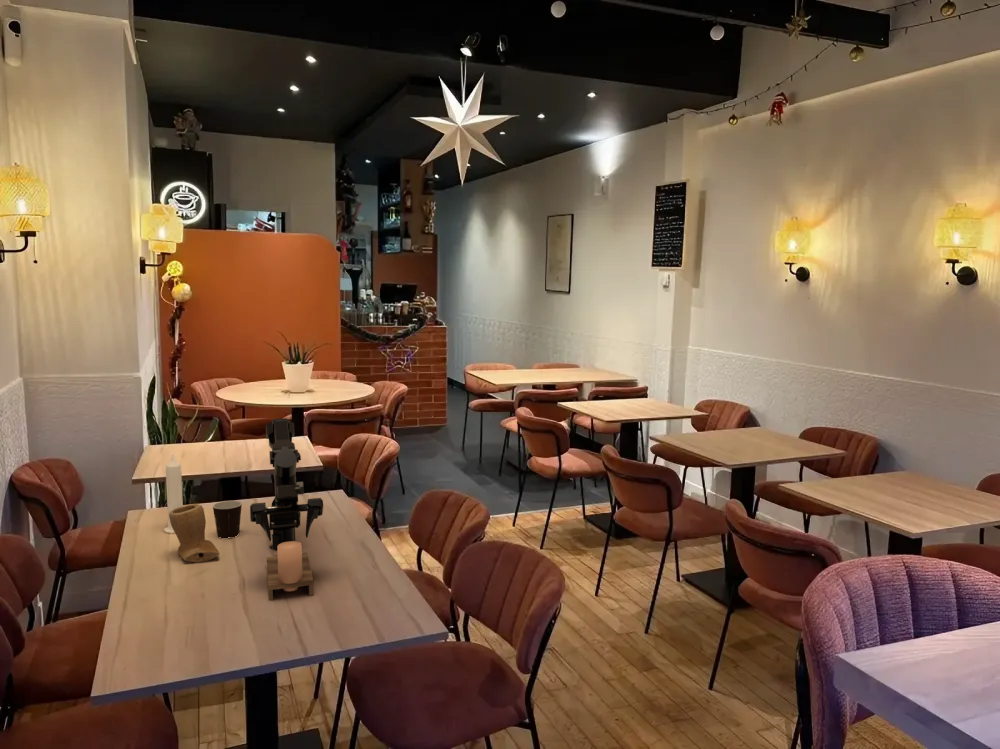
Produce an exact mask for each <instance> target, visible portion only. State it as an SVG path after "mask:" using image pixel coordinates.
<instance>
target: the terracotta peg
mask: <svg viewBox="0 0 1000 749" xmlns="http://www.w3.org/2000/svg"><path fill="white" fill-rule="evenodd" d="M276 550H277V556H278V581H279V582H280V583H284V584H290V583H296V582H299V581H300V580H302V553H303V547H302V543H301V542H300V541H296V540H295V541H289V542H283V543H281V544H279V545H278V546H277V549H276ZM298 588H299V587H290V588H282V589H283V591H284V592H294V591H297V590H298Z"/></svg>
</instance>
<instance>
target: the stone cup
mask: <svg viewBox="0 0 1000 749" xmlns="http://www.w3.org/2000/svg"><path fill="white" fill-rule="evenodd" d="M169 517H170V523H171V526H172V528H173V530H174V532H175V534H174V535H175V536H176V537H177V539H178V541H179V546H178V548H177V552H178V554H179V555H180V556H181V558H182V559H183V560H184V561H187V562H191V563H192V562H193V563H202V562H203V563H204V562H208V561H211V560H213V559H215V558H217V557H218V556H220V551H219V550H218V548H217V546H216V545H215V544H214V543H213V541H211V540H207V539H206V533H205V530H206V523H207V522H206V514H205V510H204V507H203V506H202V505H200V504H199V503H192V504H191V503H190V504H185V505H183V506H182V507H178V508H175V509H174V510H172V511H171V512H170V513H169Z"/></svg>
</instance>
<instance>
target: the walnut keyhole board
mask: <svg viewBox="0 0 1000 749" xmlns="http://www.w3.org/2000/svg"><path fill="white" fill-rule="evenodd" d="M266 576H267V577H266V578H267V593H268V601H269V600H271V601H273V600H274V595H273V594H274V591H273V590H280V589H283V588H290V587H298V588H299V587H304V586H305V587H306V586H307V590H309V591H308V595H310V596H314V578H313V573H312V568H311V565H310V560H309V554H308V552H302V580H300V581H299V582H296V583H290V584H284V583H280V582H279V581H278V555H273V556H266Z"/></svg>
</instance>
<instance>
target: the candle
mask: <svg viewBox="0 0 1000 749" xmlns="http://www.w3.org/2000/svg"><path fill="white" fill-rule="evenodd" d="M165 480H166V481H165V482H166V484H165V485H166V501H167V502H166V505H167V521H168V522H167V525H168V526H166V527H164V529H163V532H164V531H165V532H170V533H171V532H173V533H175V532H174V530H173V528H172V526H171V523H170V517H169V513H170V512H171V511H172V510H174V509H175V508H178V507H182V506H184V504H183V502H184V501H183V479H182V464H181V463H180V462H178V461H177V460H176V459H175V455H174V454H172V455H171V459H170V461H169V462H168V463H167V464H166V465H165ZM165 532H164V533H165Z"/></svg>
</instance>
